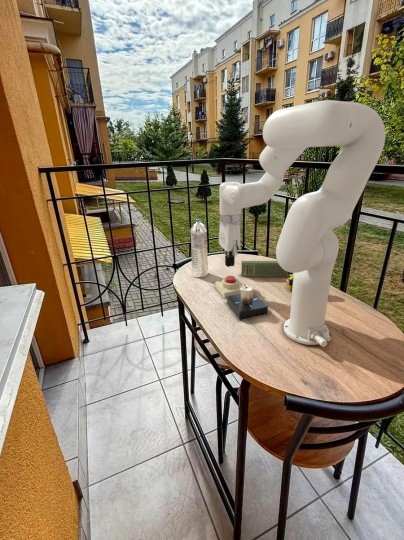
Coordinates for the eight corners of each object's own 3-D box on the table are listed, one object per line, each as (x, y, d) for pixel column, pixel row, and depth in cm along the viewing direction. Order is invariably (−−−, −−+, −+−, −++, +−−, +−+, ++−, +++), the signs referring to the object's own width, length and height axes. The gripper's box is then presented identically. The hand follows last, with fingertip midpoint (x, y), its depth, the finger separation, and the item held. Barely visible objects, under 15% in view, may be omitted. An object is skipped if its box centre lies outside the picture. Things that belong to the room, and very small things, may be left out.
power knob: (254, 302, 94) (255, 288, 92) (243, 305, 93) (243, 290, 91) (249, 297, 97) (249, 283, 95) (238, 299, 96) (238, 285, 94)
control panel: (267, 314, 92) (267, 306, 91) (239, 320, 90) (239, 311, 89) (252, 298, 102) (252, 291, 101) (226, 303, 100) (226, 295, 98)
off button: (236, 283, 107) (236, 278, 106) (227, 284, 106) (227, 280, 105) (233, 279, 110) (233, 275, 109) (224, 280, 109) (224, 276, 108)
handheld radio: (241, 273, 123) (300, 274, 120) (241, 277, 120) (301, 277, 117) (241, 259, 120) (301, 259, 117) (241, 263, 117) (303, 263, 114)
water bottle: (198, 270, 128) (196, 216, 119) (211, 273, 124) (209, 218, 115) (189, 275, 123) (186, 220, 114) (202, 279, 119) (199, 222, 110)
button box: (246, 294, 106) (246, 284, 104) (224, 298, 103) (224, 288, 102) (236, 282, 115) (236, 274, 113) (215, 286, 112) (215, 277, 111)
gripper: (213, 214, 105) (214, 259, 111) (228, 224, 91) (227, 275, 98) (232, 212, 107) (231, 257, 113) (249, 222, 93) (247, 272, 100)
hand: (229, 265), depth 106 cm, fingers closed
